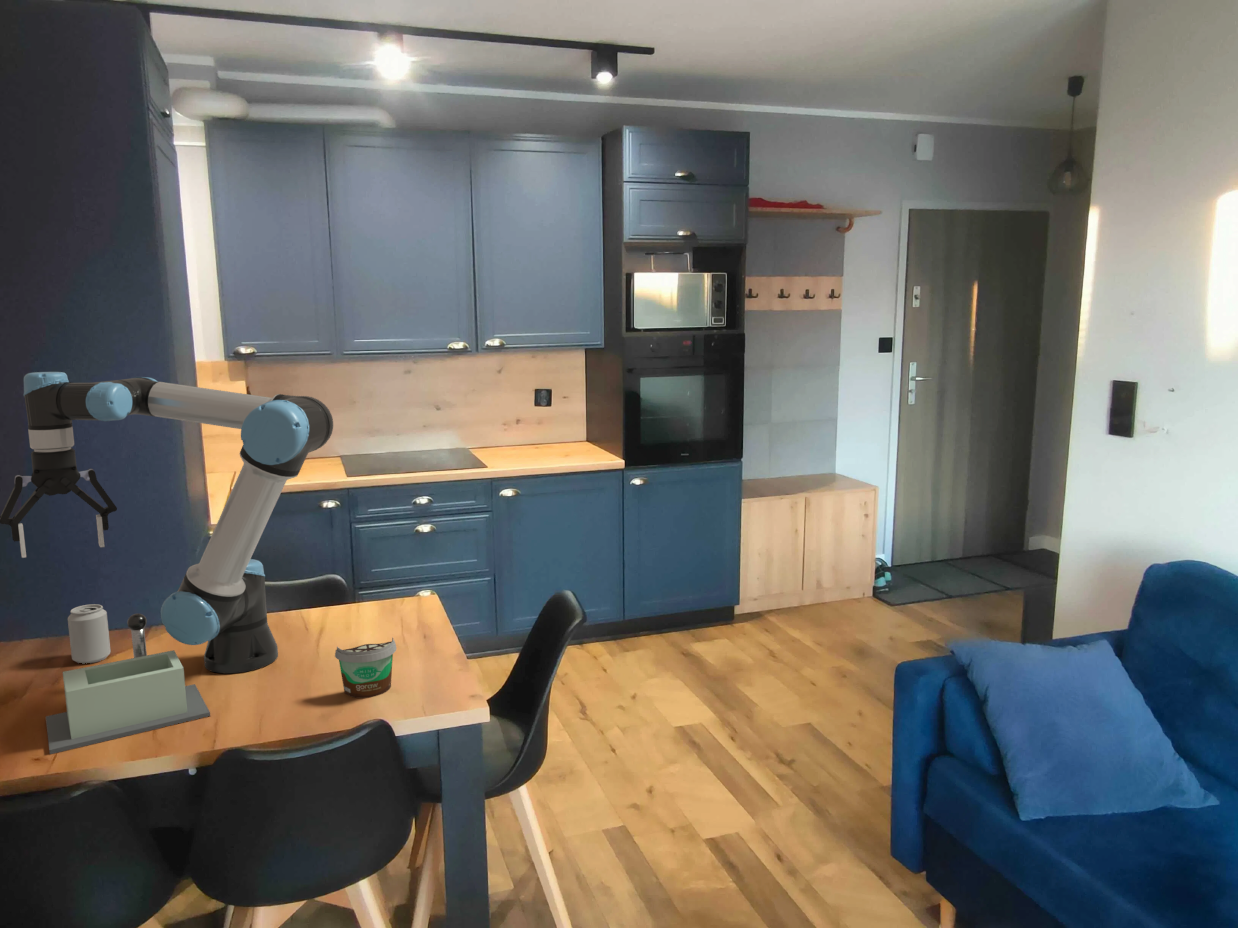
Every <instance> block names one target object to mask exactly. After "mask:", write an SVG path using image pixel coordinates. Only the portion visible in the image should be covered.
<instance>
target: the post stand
mask: <svg viewBox="0 0 1238 928" xmlns="http://www.w3.org/2000/svg"><path fill="white" fill-rule="evenodd" d="M126 623H127V627H128V629H130V632H131V641H132V642H131V643H132V653H133V658H137V657H142V656H147V655H148V653H147V642H146V634H145V633H146V632H145V628H146V626H147V623H148V619H147V617H146V616H145V615H144V614H142V613H133V614H131V615H130V616H128V618H127V622H126Z"/></svg>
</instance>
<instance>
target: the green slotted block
mask: <svg viewBox="0 0 1238 928" xmlns="http://www.w3.org/2000/svg"><path fill="white" fill-rule="evenodd" d="M62 677H63V678H62V679H63V686H64V687H63V688H64V697H65V704H66V705H65V706H66V712H67V716H68V722H69V728H70V734H71V739H74V738H79V737H83V736H87V735H92V734H96V733H100V732H105V731H109V730H113V729H117V728H122V727H126V726H130V725H135V724H139V723H143V722H148V721H152V720H156V719H160V718H165V717H169V716H173V715H178V714H182V713H186V712H187V702H186V691H185V686H186V679H185V670H184V666H183V664H182V663H181V661H180V659H179V657H178V655H177V652H176V651H175V650H168V651H167V650H166V651H164V652H158V653H153V654H149V655H148V654H147V656H142V657H137V658H134V657H133V658H126V659H122V660H117V661H113V662H111V661H110V662H107V663H101V664H96V665H91V666H86V667H81V668H75V669H69V670H65V671H62Z"/></svg>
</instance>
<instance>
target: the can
mask: <svg viewBox="0 0 1238 928" xmlns="http://www.w3.org/2000/svg"><path fill="white" fill-rule="evenodd" d="M69 612H70V614H69V615H68V616H67V624H68V625H67V626H68V636H69V644H70V645H69V646H70V653H71V655H70V656H71V660H72V661H74V662H76V664H79V663H82V664H81V665H86V664H87V663H90V664H95V663H98V662H101V660H102V661H103V660H105V659H107V657H108V656H109V655H110V654H111V653H112V651H111V641H110V632H109V622H108V612H107V610H105V609H104V607H103V605H101V604H98V603H97V604H95V603H94V604H85V605H84V604H83V605H79V606H76V607H74V608H72V609H71V610H70V611H69ZM85 663H86V664H85Z"/></svg>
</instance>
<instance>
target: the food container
mask: <svg viewBox="0 0 1238 928" xmlns="http://www.w3.org/2000/svg"><path fill="white" fill-rule="evenodd" d="M391 638H392V639H391V641H387V642H382V643H368V644H367V643H366V644H361V645H358V646H355V647H351V648H347V649H342V648H340V647H339V646H336V649H335V653H334V658H336V659H337V660H338V663H339V669H340V674H341V680H342V686H343V691H344V694H345V695H347V696H349V697H352V698H356V699H357V698H360V699H365V698H372V697H377V696H380V695H383V694H385V693H386V692H388V691H389V690H390V689H391V687H392V673H393V661H394V660H393V658H394V654H395V652H396V651H397V645H396V641H395V639H394V637H393V636H392V637H391Z"/></svg>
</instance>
